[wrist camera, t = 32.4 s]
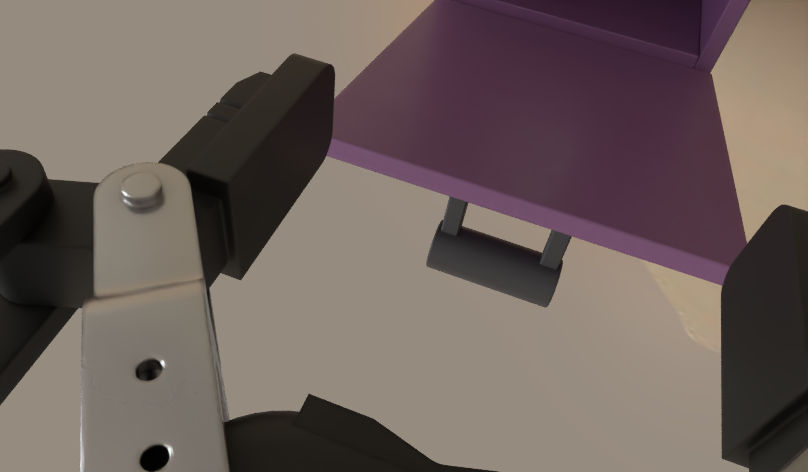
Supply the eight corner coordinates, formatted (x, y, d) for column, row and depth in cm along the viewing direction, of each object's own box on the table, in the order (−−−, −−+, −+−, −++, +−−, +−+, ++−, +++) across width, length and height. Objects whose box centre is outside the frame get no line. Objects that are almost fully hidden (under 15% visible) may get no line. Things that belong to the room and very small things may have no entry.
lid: (302, 128, 22) (292, 251, 25) (754, 274, 19) (676, 387, 23) (437, -4, 35) (419, 87, 39) (712, 73, 33) (666, 163, 36)
